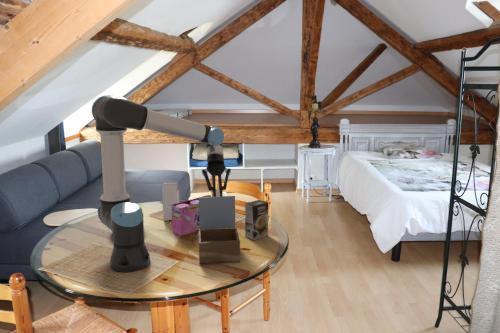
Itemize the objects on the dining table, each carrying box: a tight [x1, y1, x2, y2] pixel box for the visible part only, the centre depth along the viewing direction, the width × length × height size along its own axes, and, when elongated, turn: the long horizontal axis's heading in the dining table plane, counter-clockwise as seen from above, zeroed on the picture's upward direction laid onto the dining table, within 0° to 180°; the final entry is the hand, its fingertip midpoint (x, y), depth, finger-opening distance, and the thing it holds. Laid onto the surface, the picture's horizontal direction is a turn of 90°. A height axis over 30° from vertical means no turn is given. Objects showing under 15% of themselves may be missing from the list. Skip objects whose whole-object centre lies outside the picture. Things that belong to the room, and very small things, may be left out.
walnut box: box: [198, 227, 241, 266], centre depth 168 cm, size 14×16×9 cm
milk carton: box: [161, 182, 180, 222], centre depth 211 cm, size 7×7×19 cm
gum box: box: [171, 194, 212, 237], centre depth 200 cm, size 24×8×14 cm, turn 135°
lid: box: [198, 195, 236, 230], centre depth 173 cm, size 14×15×1 cm
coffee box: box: [244, 199, 269, 241], centre depth 188 cm, size 9×6×16 cm
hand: (218, 204), depth 174 cm, fingers closed
